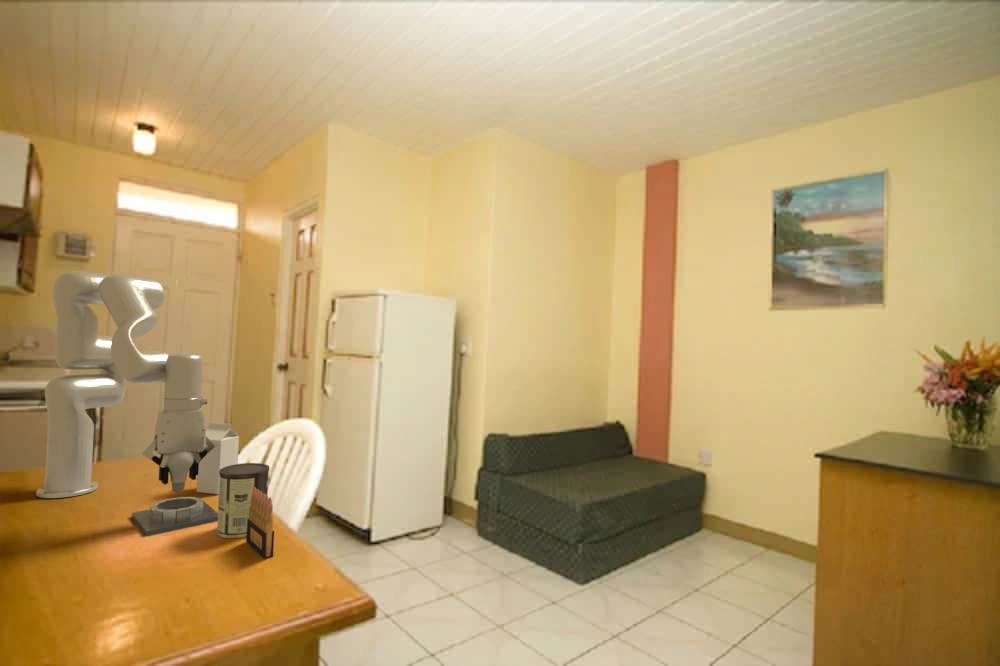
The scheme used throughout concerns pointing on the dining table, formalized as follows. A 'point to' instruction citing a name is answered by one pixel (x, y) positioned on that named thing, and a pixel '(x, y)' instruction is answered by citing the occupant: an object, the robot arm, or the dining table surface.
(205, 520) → the ring collar
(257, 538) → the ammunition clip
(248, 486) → the coffee can
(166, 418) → the robot arm
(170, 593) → the dining table surface
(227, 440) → the milk carton
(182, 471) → the lightbulb
